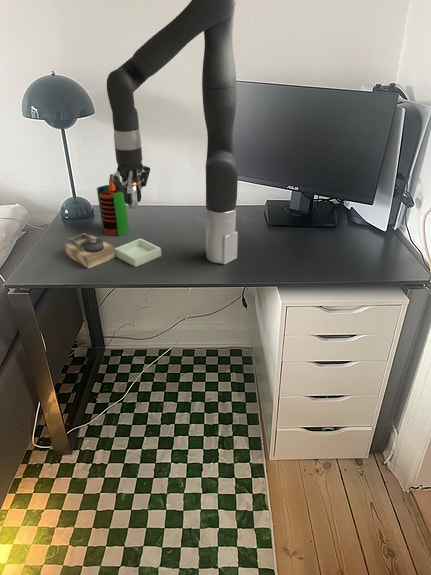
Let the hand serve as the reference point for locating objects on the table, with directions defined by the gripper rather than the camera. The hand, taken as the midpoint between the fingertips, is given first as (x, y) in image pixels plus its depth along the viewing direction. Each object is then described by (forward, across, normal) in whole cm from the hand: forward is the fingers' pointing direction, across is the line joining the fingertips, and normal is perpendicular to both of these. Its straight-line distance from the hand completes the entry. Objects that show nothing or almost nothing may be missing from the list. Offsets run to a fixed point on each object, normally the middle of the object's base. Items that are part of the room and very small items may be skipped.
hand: (133, 202), depth 138 cm
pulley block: (+19, -11, +11) cm, 24 cm away
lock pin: (+2, 0, 0) cm, 2 cm away
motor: (+19, +7, +22) cm, 30 cm away
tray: (+18, 0, 0) cm, 18 cm away
